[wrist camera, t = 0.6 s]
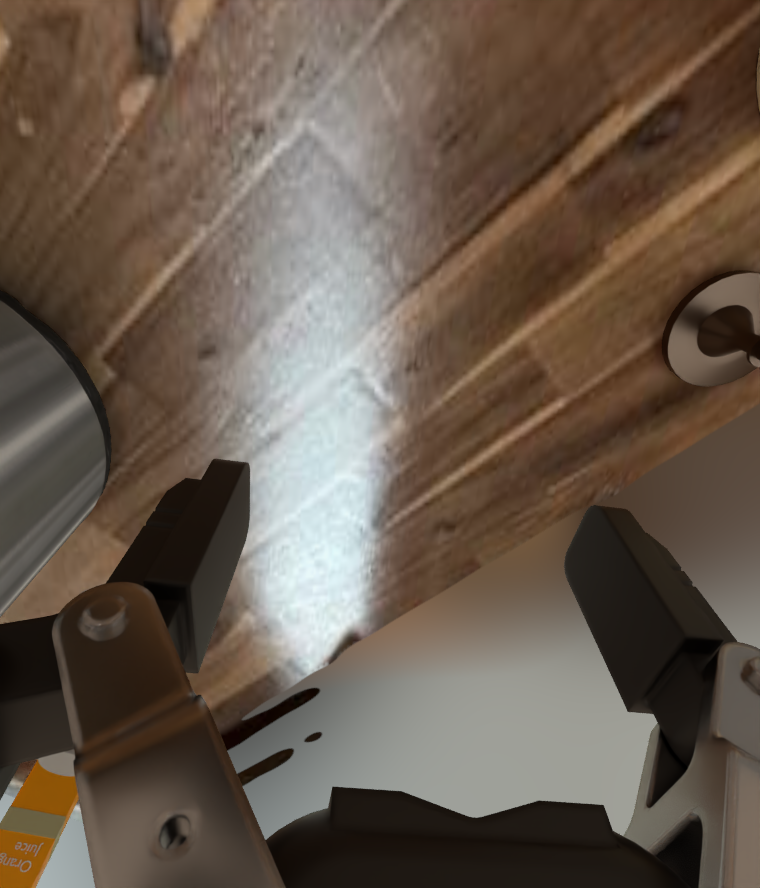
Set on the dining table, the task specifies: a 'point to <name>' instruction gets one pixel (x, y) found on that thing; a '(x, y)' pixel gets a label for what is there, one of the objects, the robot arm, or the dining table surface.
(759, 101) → the pot
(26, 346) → the pressure cooker
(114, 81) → the dining table surface
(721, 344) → the candlestick
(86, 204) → the dining table surface
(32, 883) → the orange juice
